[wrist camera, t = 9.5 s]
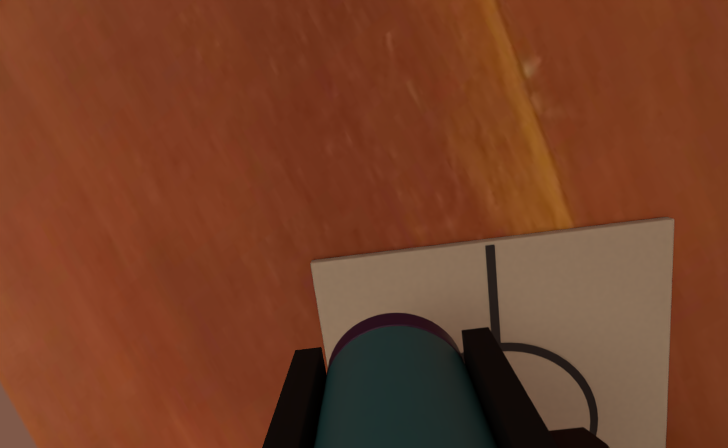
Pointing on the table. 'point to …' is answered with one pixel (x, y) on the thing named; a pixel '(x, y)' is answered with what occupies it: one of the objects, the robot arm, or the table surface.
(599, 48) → the table surface
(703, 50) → the table surface
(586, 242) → the drawing sheet
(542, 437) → the robot arm
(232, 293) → the table surface
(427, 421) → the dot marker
